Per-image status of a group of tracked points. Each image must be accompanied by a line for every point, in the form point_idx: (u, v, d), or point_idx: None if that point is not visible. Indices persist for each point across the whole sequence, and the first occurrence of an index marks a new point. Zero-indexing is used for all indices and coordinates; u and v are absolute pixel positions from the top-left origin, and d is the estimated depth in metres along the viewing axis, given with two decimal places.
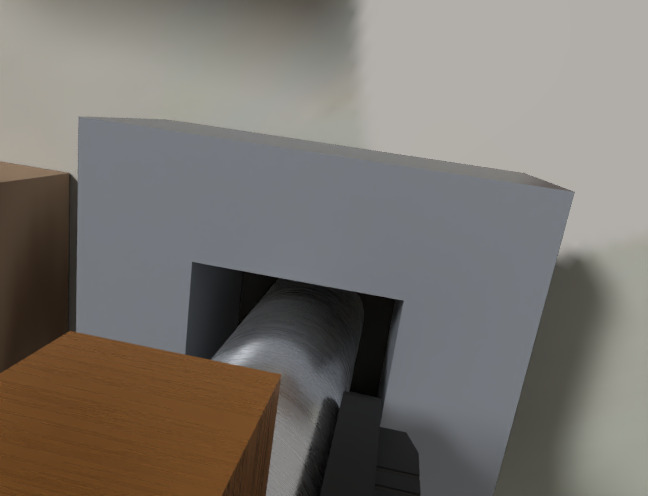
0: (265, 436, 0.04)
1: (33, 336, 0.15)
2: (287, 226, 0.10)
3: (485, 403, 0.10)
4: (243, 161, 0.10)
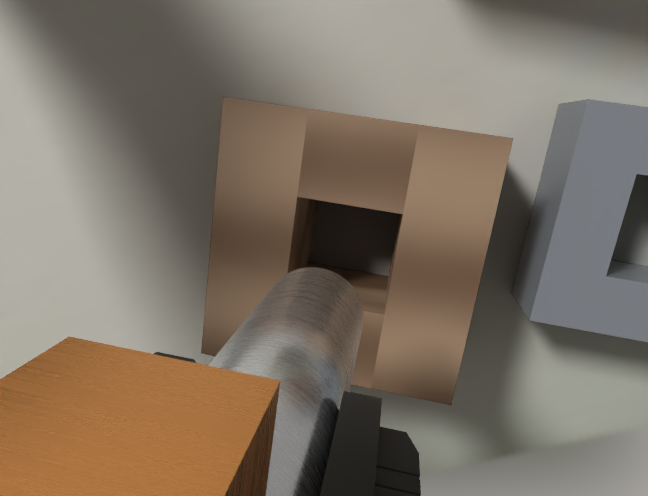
0: (264, 443, 0.04)
1: None
2: None
3: None
4: None
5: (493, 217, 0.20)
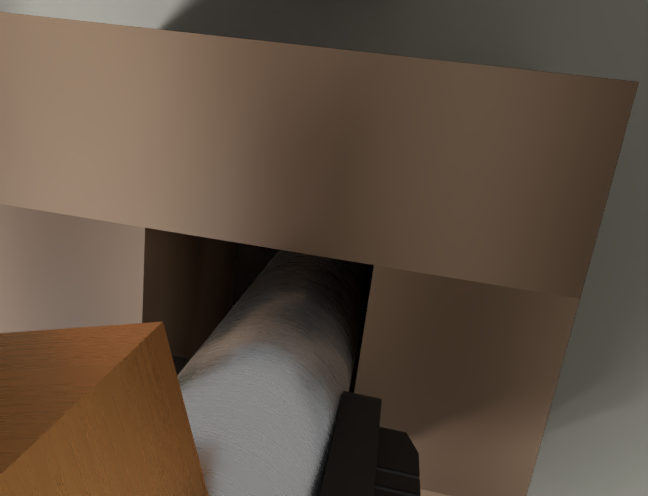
0: (153, 386, 0.04)
1: None
2: None
3: None
4: None
5: (127, 28, 0.09)
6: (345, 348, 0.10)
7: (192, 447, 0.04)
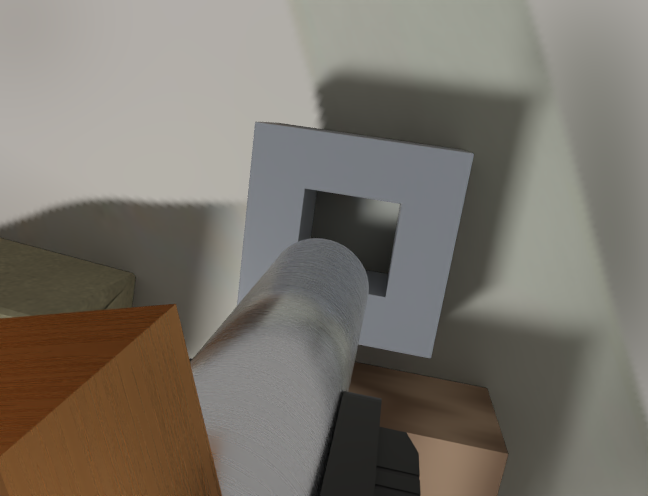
0: (167, 364, 0.04)
1: (359, 376, 0.28)
2: (275, 237, 0.24)
3: (351, 149, 0.23)
4: (249, 254, 0.25)
5: None
6: (345, 347, 0.10)
7: (201, 426, 0.05)
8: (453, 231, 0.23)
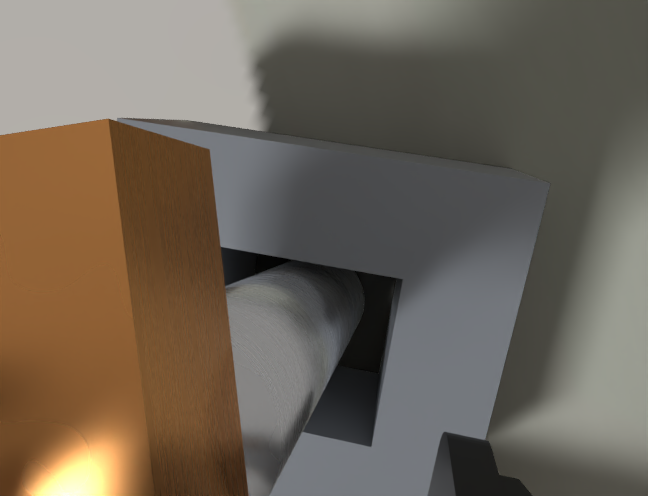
0: (200, 180, 0.06)
1: None
2: None
3: (302, 173, 0.11)
4: None
5: None
6: (338, 315, 0.11)
7: (218, 249, 0.06)
8: (503, 333, 0.12)
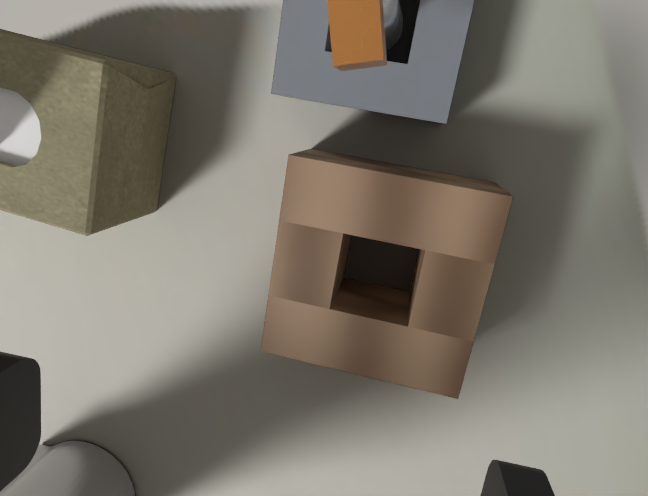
0: None
1: (379, 163, 0.31)
2: (310, 9, 0.27)
3: None
4: (286, 26, 0.27)
5: (346, 166, 0.27)
6: None
7: None
8: None
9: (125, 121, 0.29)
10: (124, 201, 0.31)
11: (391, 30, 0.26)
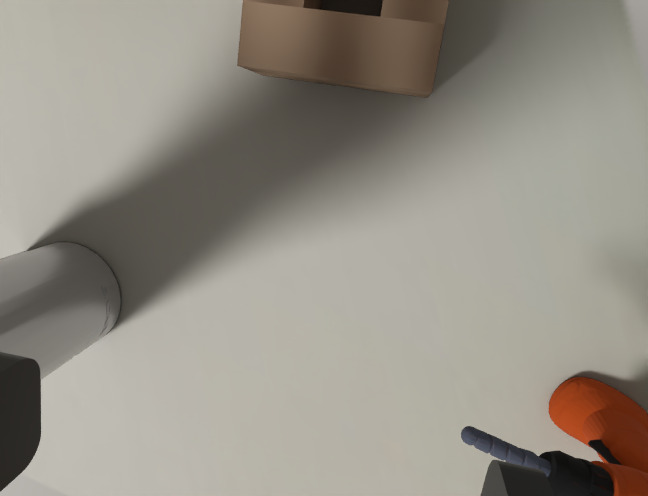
0: None
1: None
2: None
3: None
4: None
5: None
6: None
7: None
8: None
9: None
10: None
11: None
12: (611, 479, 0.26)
